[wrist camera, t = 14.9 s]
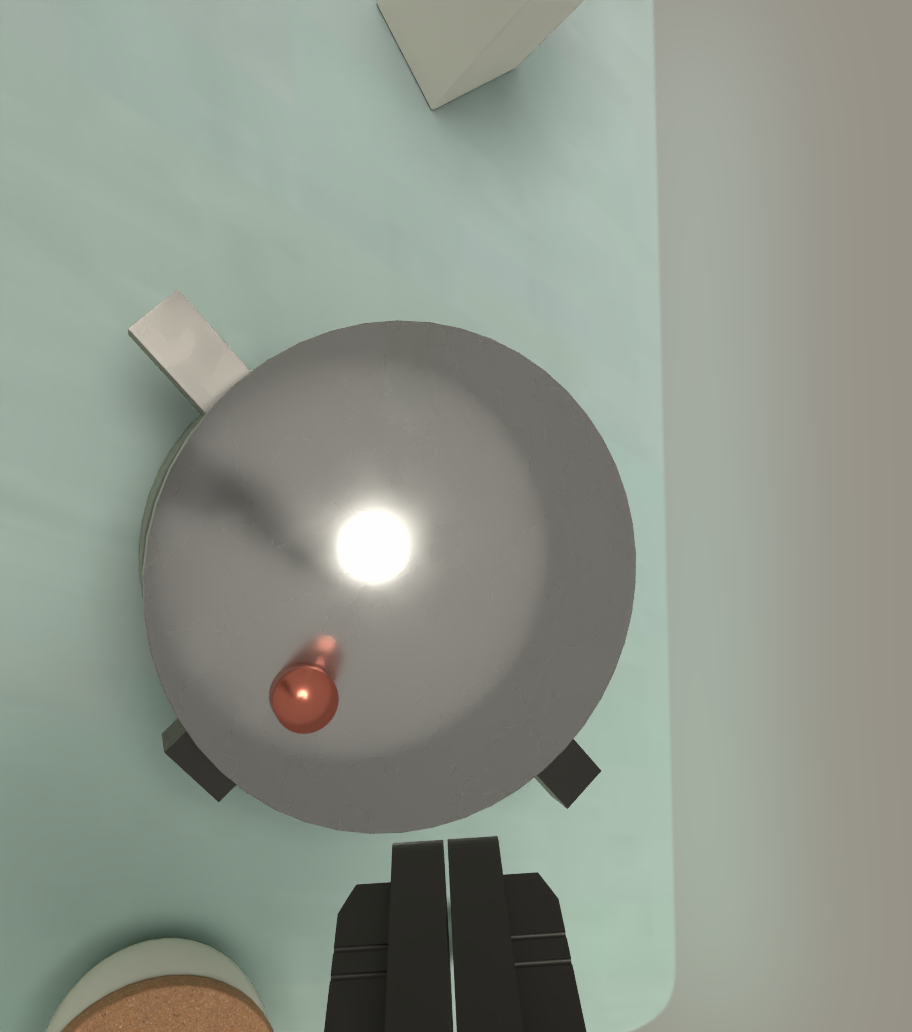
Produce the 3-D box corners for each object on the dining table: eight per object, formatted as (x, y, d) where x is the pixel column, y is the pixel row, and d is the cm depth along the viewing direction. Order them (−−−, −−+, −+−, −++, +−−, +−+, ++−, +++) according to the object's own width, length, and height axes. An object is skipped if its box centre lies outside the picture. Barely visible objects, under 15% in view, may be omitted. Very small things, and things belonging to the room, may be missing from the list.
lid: (385, 915, 36) (405, 950, 34) (15, 570, 31) (5, 580, 28) (692, 579, 41) (731, 587, 38) (422, 224, 35) (447, 205, 33)
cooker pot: (359, 877, 48) (423, 991, 37) (-45, 496, 40) (-103, 510, 29) (612, 607, 52) (731, 643, 42) (298, 218, 44) (351, 146, 34)
